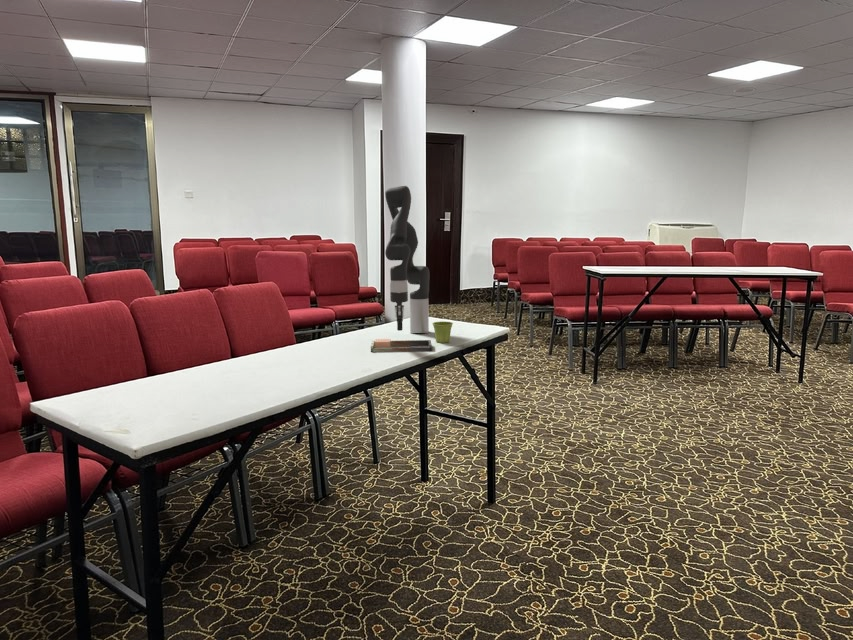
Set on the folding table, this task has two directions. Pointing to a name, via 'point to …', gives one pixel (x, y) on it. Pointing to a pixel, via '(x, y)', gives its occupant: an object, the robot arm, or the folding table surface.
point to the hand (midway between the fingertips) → (399, 330)
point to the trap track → (411, 343)
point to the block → (382, 343)
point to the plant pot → (442, 331)
